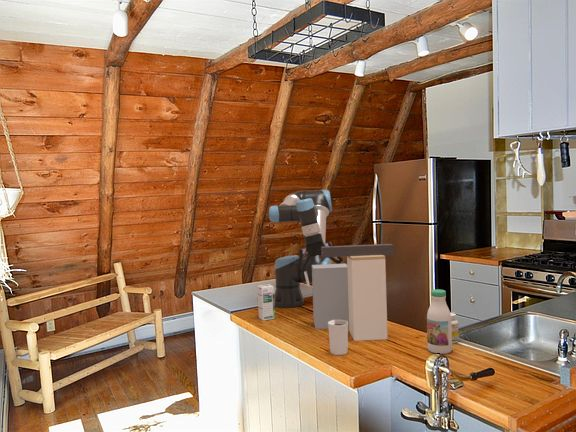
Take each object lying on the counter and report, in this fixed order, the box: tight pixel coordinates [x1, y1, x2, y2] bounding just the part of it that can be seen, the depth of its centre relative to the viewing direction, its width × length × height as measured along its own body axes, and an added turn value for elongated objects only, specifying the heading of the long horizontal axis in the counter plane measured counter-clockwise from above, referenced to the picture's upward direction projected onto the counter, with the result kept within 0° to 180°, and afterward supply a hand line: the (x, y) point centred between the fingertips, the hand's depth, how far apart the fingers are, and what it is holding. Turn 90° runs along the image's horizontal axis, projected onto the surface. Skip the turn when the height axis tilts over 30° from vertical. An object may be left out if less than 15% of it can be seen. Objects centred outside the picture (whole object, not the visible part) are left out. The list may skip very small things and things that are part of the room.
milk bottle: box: [426, 288, 453, 355], centre depth 149 cm, size 8×8×20 cm
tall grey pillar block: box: [311, 263, 349, 330], centre depth 182 cm, size 9×14×24 cm, turn 92°
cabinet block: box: [346, 255, 389, 342], centre depth 167 cm, size 11×12×30 cm
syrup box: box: [256, 283, 276, 322], centre depth 195 cm, size 6×6×14 cm
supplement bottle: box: [450, 312, 459, 344], centre depth 158 cm, size 5×5×10 cm
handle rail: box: [321, 243, 395, 258], centre depth 166 cm, size 4×26×4 cm, turn 92°
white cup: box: [328, 320, 349, 356], centre depth 151 cm, size 7×7×10 cm
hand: (324, 283), depth 193 cm, fingers open, 13 cm apart
